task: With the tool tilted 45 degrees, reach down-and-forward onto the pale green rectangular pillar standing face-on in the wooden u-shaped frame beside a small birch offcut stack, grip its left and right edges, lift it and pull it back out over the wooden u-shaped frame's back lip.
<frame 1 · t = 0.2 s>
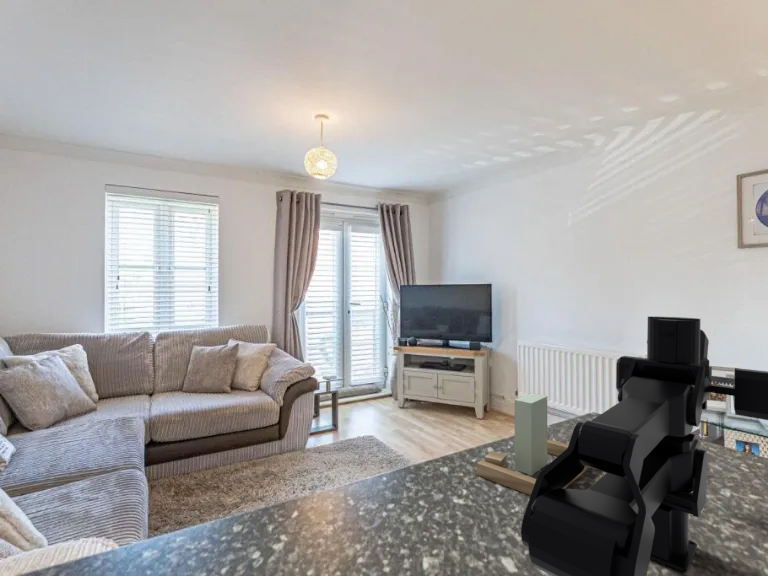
hand: (698, 377, 67), 16 cm above the countertop, tool horizontal, fingers open, 9 cm apart
wooden u-shaped frame: (536, 468, 71), on the countertop
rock: (618, 456, 76), on the countertop
pale green rectangular pillar: (531, 466, 72), on the countertop
offcut stack: (495, 469, 71), on the countertop
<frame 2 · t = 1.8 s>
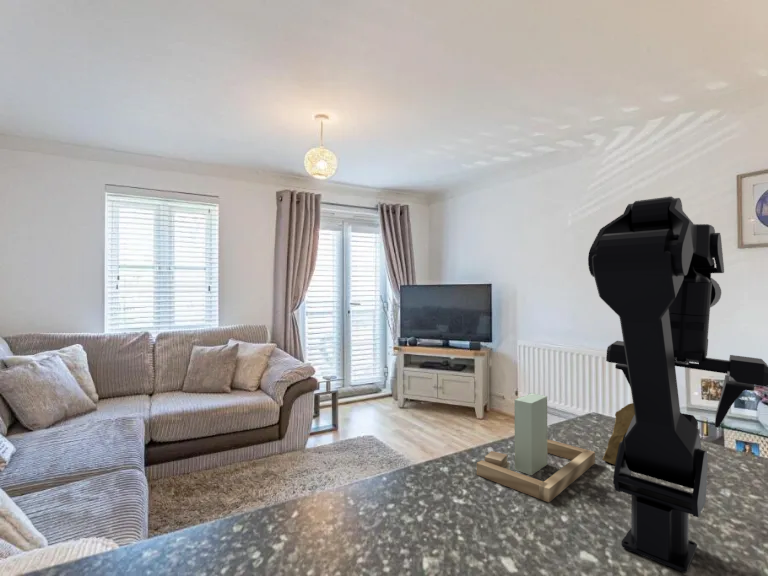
hand: (676, 418, 61), 12 cm above the countertop, tool pointing down, fingers open, 9 cm apart
nothing on the countertop moved.
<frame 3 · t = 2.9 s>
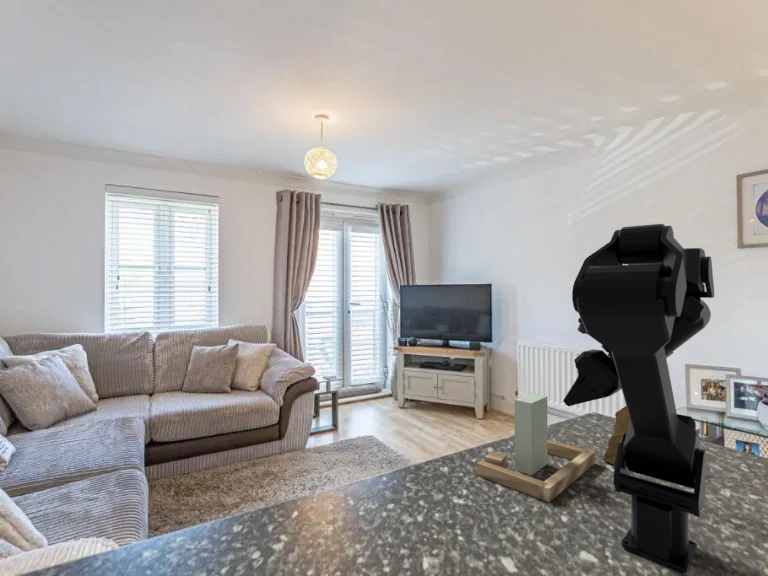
hand: (578, 398, 66), 13 cm above the countertop, tool tilted 45°, fingers open, 9 cm apart
nothing on the countertop moved.
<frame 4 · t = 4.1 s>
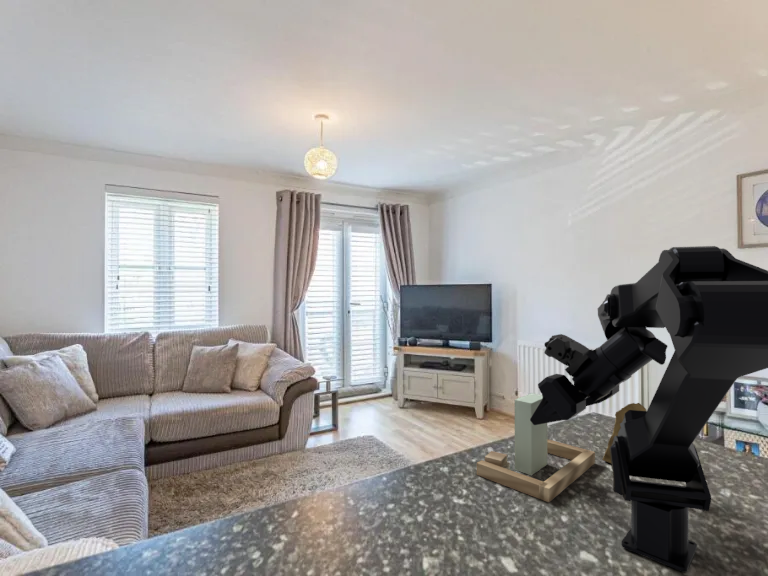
hand: (545, 416, 70), 9 cm above the countertop, tool tilted 45°, fingers open, 9 cm apart
nothing on the countertop moved.
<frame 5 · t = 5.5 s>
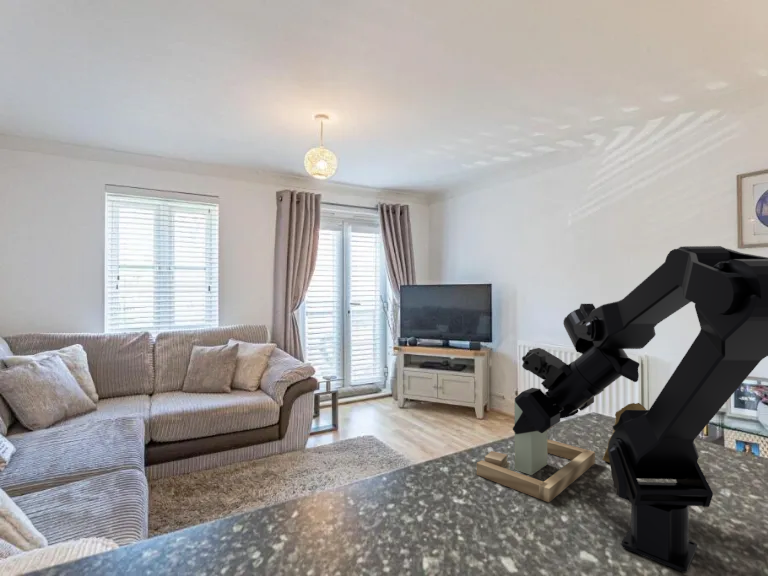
hand: (523, 426, 73), 7 cm above the countertop, tool tilted 45°, fingers closed on pale green rectangular pillar, 6 cm apart
pale green rectangular pillar: (531, 466, 72), on the countertop, touching gripper
everything else where it was.
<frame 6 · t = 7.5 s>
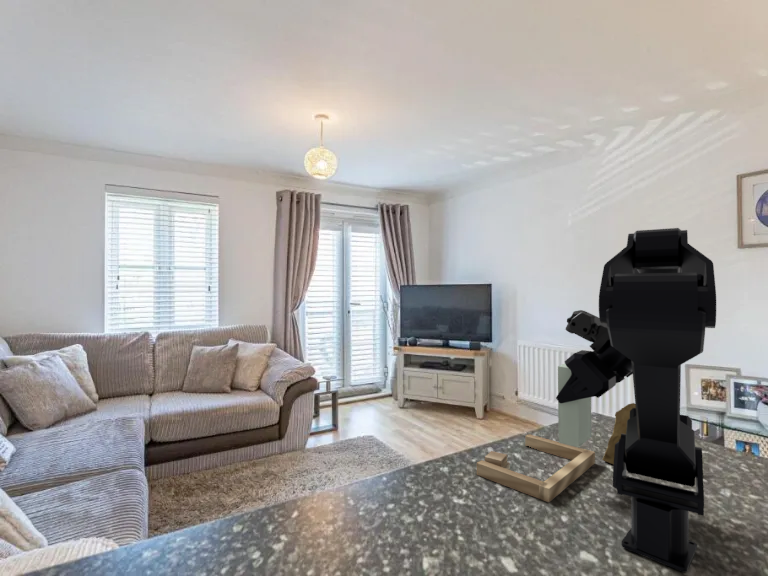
hand: (565, 396, 67), 14 cm above the countertop, tool tilted 45°, fingers closed on pale green rectangular pillar, 6 cm apart
pale green rectangular pillar: (575, 439, 66), point 7 cm above the countertop, touching gripper
everything else where it was.
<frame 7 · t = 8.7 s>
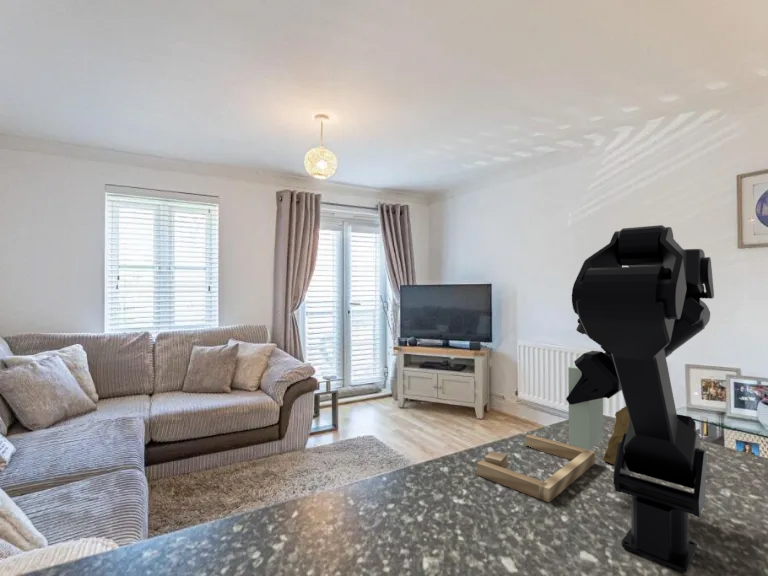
hand: (576, 397, 66), 14 cm above the countertop, tool tilted 45°, fingers closed on pale green rectangular pillar, 6 cm apart
pale green rectangular pillar: (586, 441, 65), point 7 cm above the countertop, touching gripper
everything else where it was.
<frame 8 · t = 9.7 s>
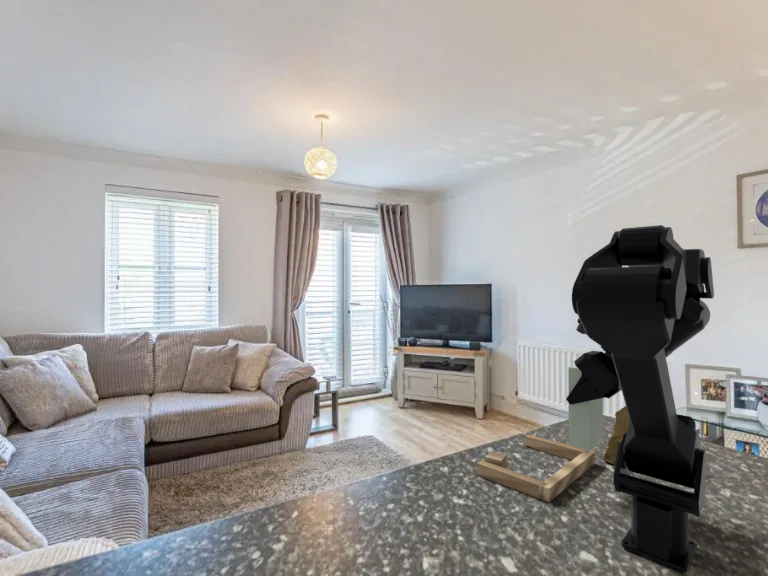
hand: (576, 397, 66), 14 cm above the countertop, tool tilted 45°, fingers closed on pale green rectangular pillar, 6 cm apart
pale green rectangular pillar: (586, 441, 65), point 7 cm above the countertop, touching gripper
everything else where it was.
at the end: pale green rectangular pillar inside the target area (0.4 cm from its centre), point 6.8 cm above the countertop; the gripper is holding pale green rectangular pillar; pale green rectangular pillar moved 11.4 cm from its start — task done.
